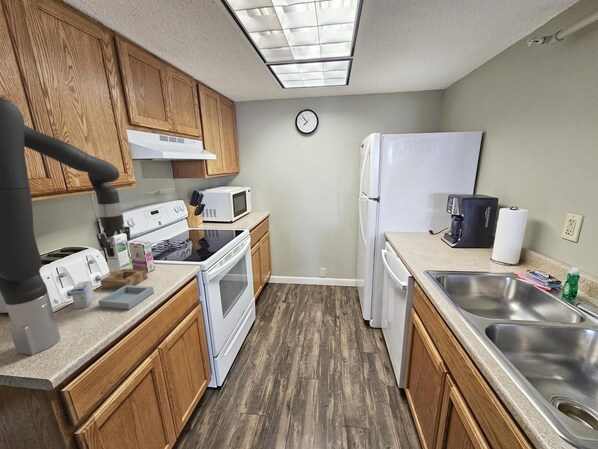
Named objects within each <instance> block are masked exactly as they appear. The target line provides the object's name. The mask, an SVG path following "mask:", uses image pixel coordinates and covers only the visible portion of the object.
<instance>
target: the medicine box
mask: <svg viewBox="0 0 598 449" xmlns="http://www.w3.org/2000/svg"><path fill="white" fill-rule="evenodd" d="M70 292H71V296H72V297H71V298H72V302H73V306H74V309H75V310H78V309H80V310H81V309H85V308H88V307H89V306H90V305H91V304H92V303H93V301H94V300H95V298H96V297H95V292H94V286H93V282H92V280H88V281H86V280H85V281H80V282H78V283H77V284H76V285H75V286H74V287H73V288H72V289H71V290H70Z"/></svg>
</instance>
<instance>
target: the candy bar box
mask: <svg viewBox="0 0 598 449" xmlns="http://www.w3.org/2000/svg"><path fill="white" fill-rule="evenodd" d="M151 243H152V242H151V241H145V240H144V241H143V240H134V241H131V242H128V247H129V253H130V258H131V264H132V265H131V266H132V269H134V270H146V271H147V274H148V273H150V272H153V271H155V270H156V267H155V263H154V262H155V261H154V256H153V249H152V244H151Z"/></svg>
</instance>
